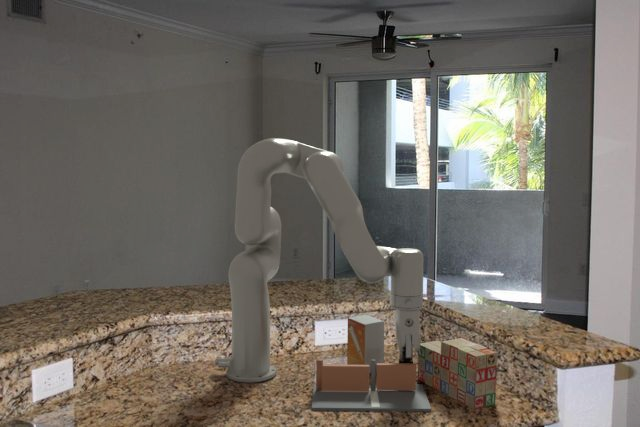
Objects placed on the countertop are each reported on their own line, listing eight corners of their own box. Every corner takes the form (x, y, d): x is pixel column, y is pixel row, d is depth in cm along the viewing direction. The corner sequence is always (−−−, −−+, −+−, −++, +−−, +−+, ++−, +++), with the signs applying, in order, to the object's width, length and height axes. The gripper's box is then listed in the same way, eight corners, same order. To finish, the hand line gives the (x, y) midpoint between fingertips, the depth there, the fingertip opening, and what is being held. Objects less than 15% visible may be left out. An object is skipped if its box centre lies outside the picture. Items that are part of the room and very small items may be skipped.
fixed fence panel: (316, 391, 152) (316, 361, 151) (316, 388, 154) (316, 359, 153) (369, 391, 152) (369, 361, 151) (368, 389, 153) (368, 359, 153)
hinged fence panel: (370, 391, 152) (371, 361, 151) (370, 389, 153) (370, 359, 153) (415, 391, 152) (416, 361, 151) (415, 389, 153) (415, 359, 152)
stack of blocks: (416, 380, 162) (417, 331, 161) (437, 376, 165) (437, 328, 164) (474, 410, 143) (475, 355, 142) (496, 405, 146) (497, 351, 145)
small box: (346, 365, 172) (346, 317, 171) (366, 361, 176) (366, 314, 174) (364, 374, 165) (364, 324, 164) (384, 370, 169) (385, 320, 168)
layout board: (311, 410, 143) (311, 407, 142) (313, 385, 157) (313, 383, 157) (431, 411, 142) (431, 408, 142) (422, 386, 157) (422, 384, 157)
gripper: (427, 308, 147) (426, 387, 149) (418, 294, 162) (417, 366, 164) (393, 308, 147) (393, 387, 149) (388, 294, 162) (387, 366, 164)
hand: (405, 376), depth 157 cm, fingers closed
